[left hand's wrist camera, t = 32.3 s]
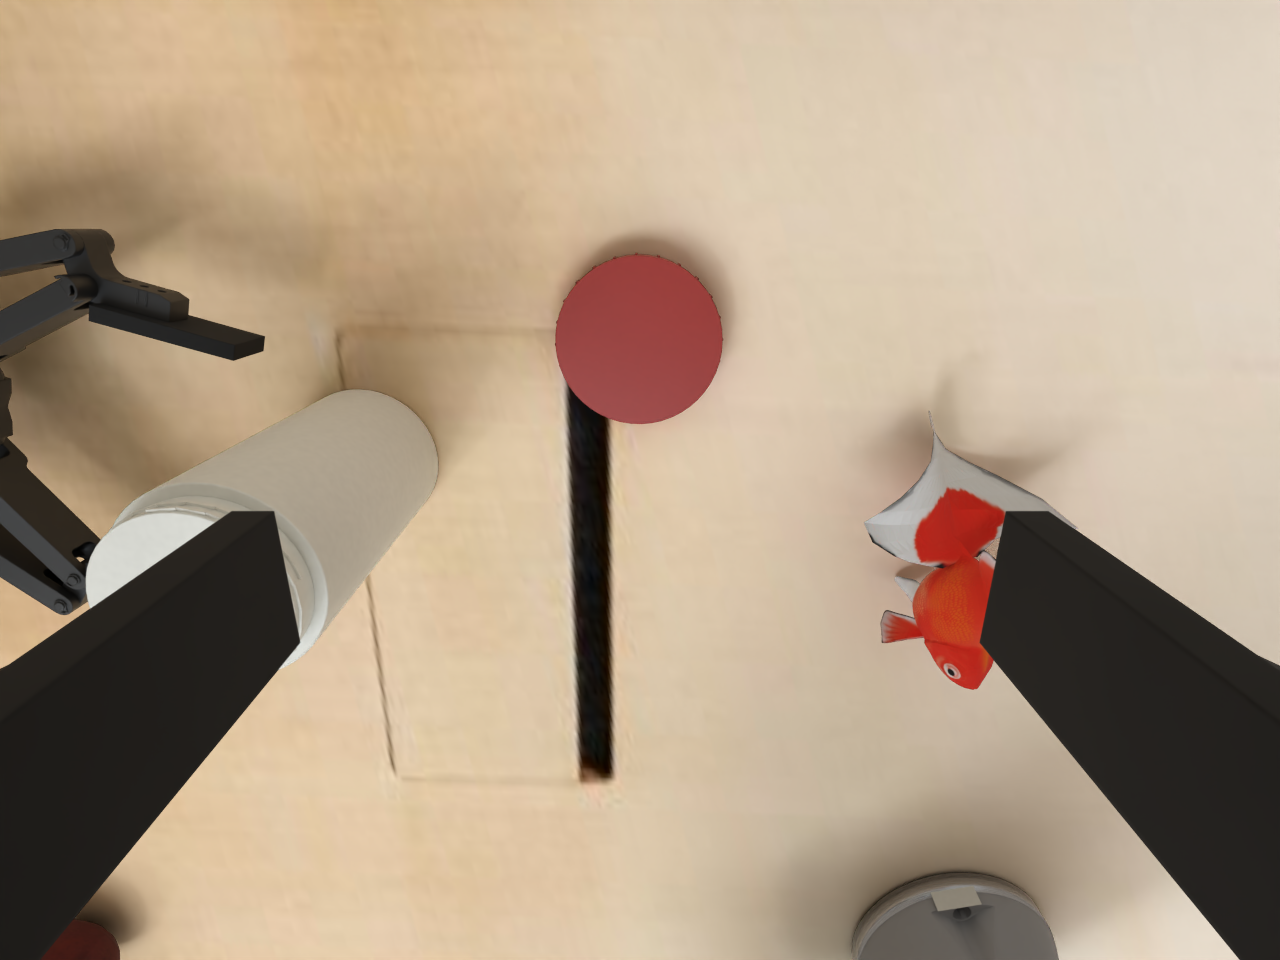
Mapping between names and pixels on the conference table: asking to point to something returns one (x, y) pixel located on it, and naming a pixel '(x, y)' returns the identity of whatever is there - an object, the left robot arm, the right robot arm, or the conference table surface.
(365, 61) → the conference table surface
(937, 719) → the conference table surface
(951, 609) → the fish
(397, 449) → the jar
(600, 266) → the lid
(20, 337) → the right robot arm
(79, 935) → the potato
